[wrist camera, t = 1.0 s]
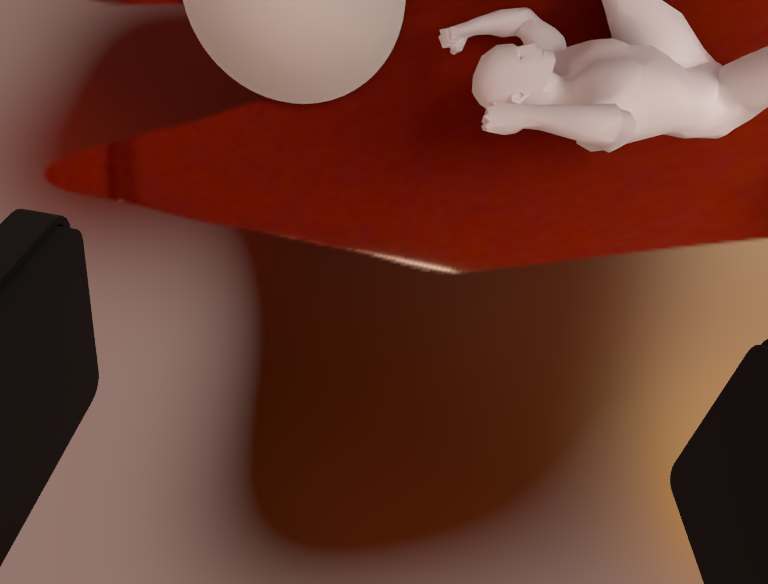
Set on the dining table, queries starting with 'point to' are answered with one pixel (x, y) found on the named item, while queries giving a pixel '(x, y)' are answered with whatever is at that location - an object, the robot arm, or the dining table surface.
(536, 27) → the person figurine
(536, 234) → the dining table surface
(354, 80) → the ceramic coaster
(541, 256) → the dining table surface
